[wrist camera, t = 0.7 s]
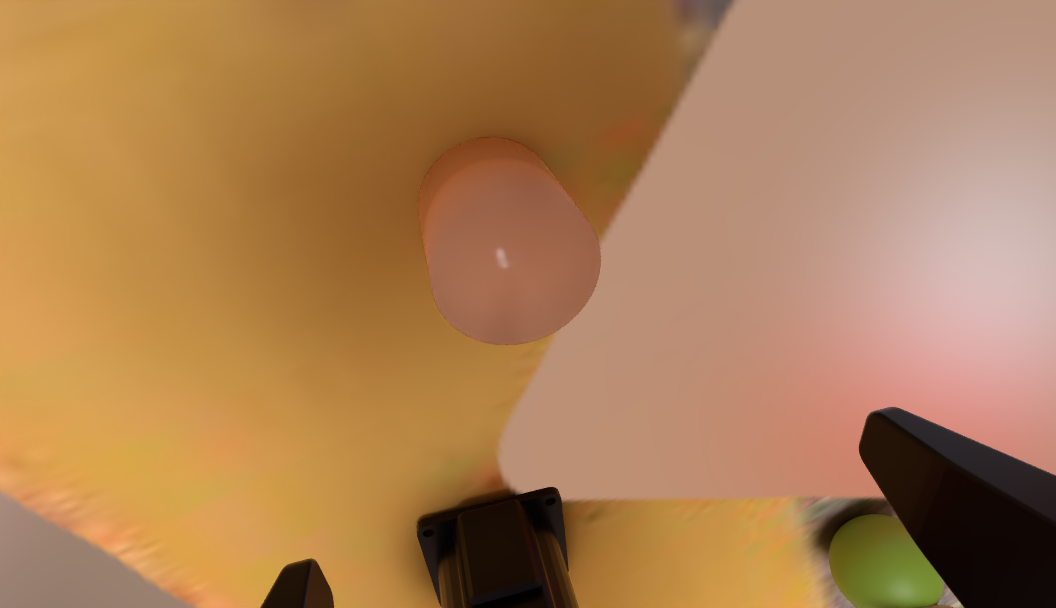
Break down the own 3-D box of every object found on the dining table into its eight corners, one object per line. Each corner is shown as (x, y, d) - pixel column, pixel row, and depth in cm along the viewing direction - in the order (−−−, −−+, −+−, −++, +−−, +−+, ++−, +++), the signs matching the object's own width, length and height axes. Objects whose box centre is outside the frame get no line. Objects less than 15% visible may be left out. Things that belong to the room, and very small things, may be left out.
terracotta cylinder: (560, 254, 21) (602, 325, 17) (432, 280, 20) (447, 359, 16) (550, 125, 18) (598, 176, 14) (403, 150, 17) (413, 210, 14)
